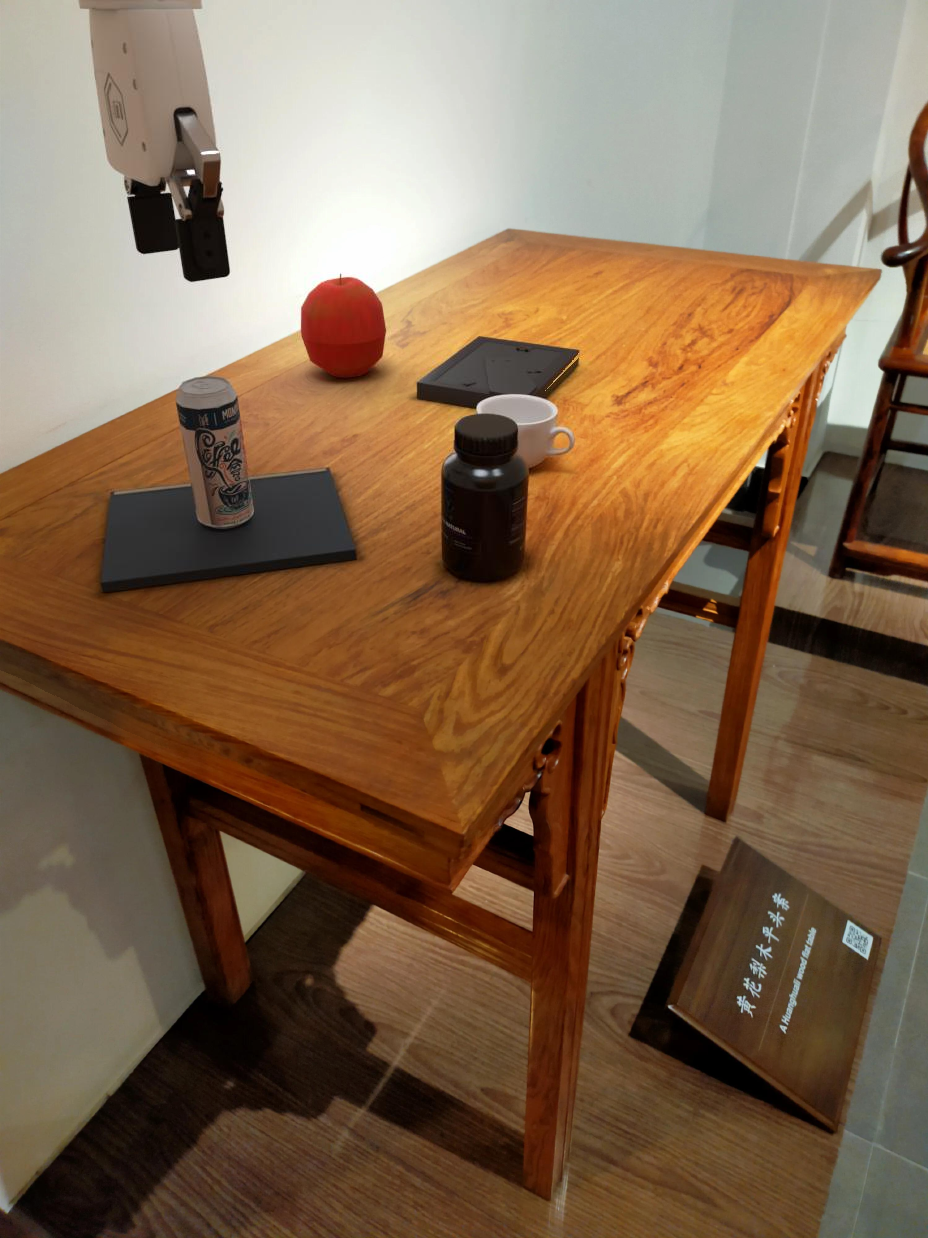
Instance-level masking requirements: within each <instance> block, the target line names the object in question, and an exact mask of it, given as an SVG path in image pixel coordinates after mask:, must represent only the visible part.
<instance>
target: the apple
mask: <svg viewBox="0 0 928 1238" xmlns="http://www.w3.org/2000/svg"><path fill="white" fill-rule="evenodd" d="M300 335H301V338H302V342H303V345H304V347H305V350H306V354H307V356H308V358H309V362H311V363H312V364H314V365H315V366H317V367H318V368H320V369H322V370H323V371H325V372H326V373H328V374H329V375H331V376H333V377H337V378H345V379H346V378H356V377H361V376H363V375H366V374H367V373H368V372H369V371H370V370H371V369H372V368H373V367H374V366H375V365H376V364H377V363H378V362H379V361H380V360H381V359H382V358H383V355H384V348H385V342H386V335H387V327H386V320H385V315H384V307H383V303H382V301H381V299H380V298H379V296H378V295H377V293H376V292H375V290H374V289H373V288H372V287H370V286H369V285H368V284H366V282H364V281H362V280H361V279H359V278H357V277H352V276H343V277H342V273H340V274H339V277H336V278H331V279H326V280H324V281H321V282H320V283H319V284H317V285H316V286H314V288H313V289H312V290H310V291H309V292H308V293H307V295H306V298H305V299H304V302H303V303H302V305H301V307H300Z"/></svg>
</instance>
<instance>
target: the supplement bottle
mask: <svg viewBox="0 0 928 1238" xmlns="http://www.w3.org/2000/svg"><path fill="white" fill-rule="evenodd" d="M453 429H454V430H453V432H454V433H453V450H454V451H452V452H451V453H450V454H449V455H448V456H447V457H446V458H445V459H444V461H443V463H442V466H441V470H440V471H441V472H440V508H441V509H440V516H441V517H440V520H441V522H440V530H441V531H440V533H441V534H440V538H441V539H440V540H441V545H440V546H441V559H442V562H443V564H444V566H445V567H446V568H447V569H448V570H449V571H450V572H451V573H452V574H454V575H456V576H457V577H461V578H463V579H466V580H469V581H476V582H491V581H499V580H501V579H505V578H508V577H510V576H512V575H513V574H515V573H516V572H517V571H519V569H520V568H521V567H522V565H523V563H524V561H525V553H526V536H527V521H528V520H527V518H528V501H529V486H530V485H529V483H530V468H529V469H528V466H527V463H526V462H525V460H524V459H523V457H522V456H521V455H520V454H518V453H517V451H518V426H517V424H516V422H515V421H513V420H512V419H510V418H508V417H505V416H502V415H498V414H489V413H485V414H484V413H481V414H476V413H474V414H469V415H465V416H463V417H461V418H460V419H457V421H455V424H454V428H453Z"/></svg>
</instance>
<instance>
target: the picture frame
mask: <svg viewBox="0 0 928 1238" xmlns="http://www.w3.org/2000/svg"><path fill="white" fill-rule="evenodd" d="M578 353H579V354H580V349H575V348H568V347H562V346H553V345H547V344H541V343H532V342H525V341H518V340H510V339H503V338H497V337H490V336H483V335H482V336H481V335H479V336H477V337H476V338H474V339H473V340H472V341H470V342H469V343H468V344H466V345H465V346H464V347H462V348H461V349H459V350H458V351H457V352H455V353H454V354H453V355H451V356H450V357H449V358H447V359H446V360H444V361H443V362H442V363H440V364H439V365H437V367H435V368H434V369H433V370H430V372H429V373H427V374H426V375H424V376H423V377H422V378H420V379H419V380H417V381H416V398H417V399H419V400H425V401H431V402H436V403H443V404H448V405H454V406H459V407H466V408H470V409H471V408H472V409H477V405H478V404H479V403H480V402H481V401H483V400H485V399H487V398H490V397H494V396H499V395H508V394H520V395H530V396H535V397H539V398H543V399H545V400H546V398H547V397H548V396H549V395H550V394H551V393H552V392H554V390H555V389H557V387H558V386H559V385H560V384H561V383H562V382H563V381H564V380H565V379H566V378H567V377H568V376H569V375H570V374H571V373H572V372H573V371H574V370H575V369H576V368H577V367H578V366H579V363H580V357H579V358H578V359H577V360H576V361H575V362H574V363H573V364H572V365H571V366H570V367H569V368H568V369H567V370H566V371H565V372H564V373H563V374H562V375H561V376H560V377H559V378H558V379H557V380H556V381H555V382H554V383H553V381H554V380H555V379H556V378H557V377H558V376H559V375H560V374H561V373H562V372H563V370H565V368H566V367H567V366H568V365H569V364H570V363H571V362H572V360H574V358H575V357H576V356H577V355H578ZM552 383H553V384H552ZM551 384H552V385H551ZM550 385H551V386H550ZM549 386H550V387H549ZM548 387H549V388H548ZM547 388H548V389H547ZM545 390H546V391H545Z"/></svg>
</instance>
